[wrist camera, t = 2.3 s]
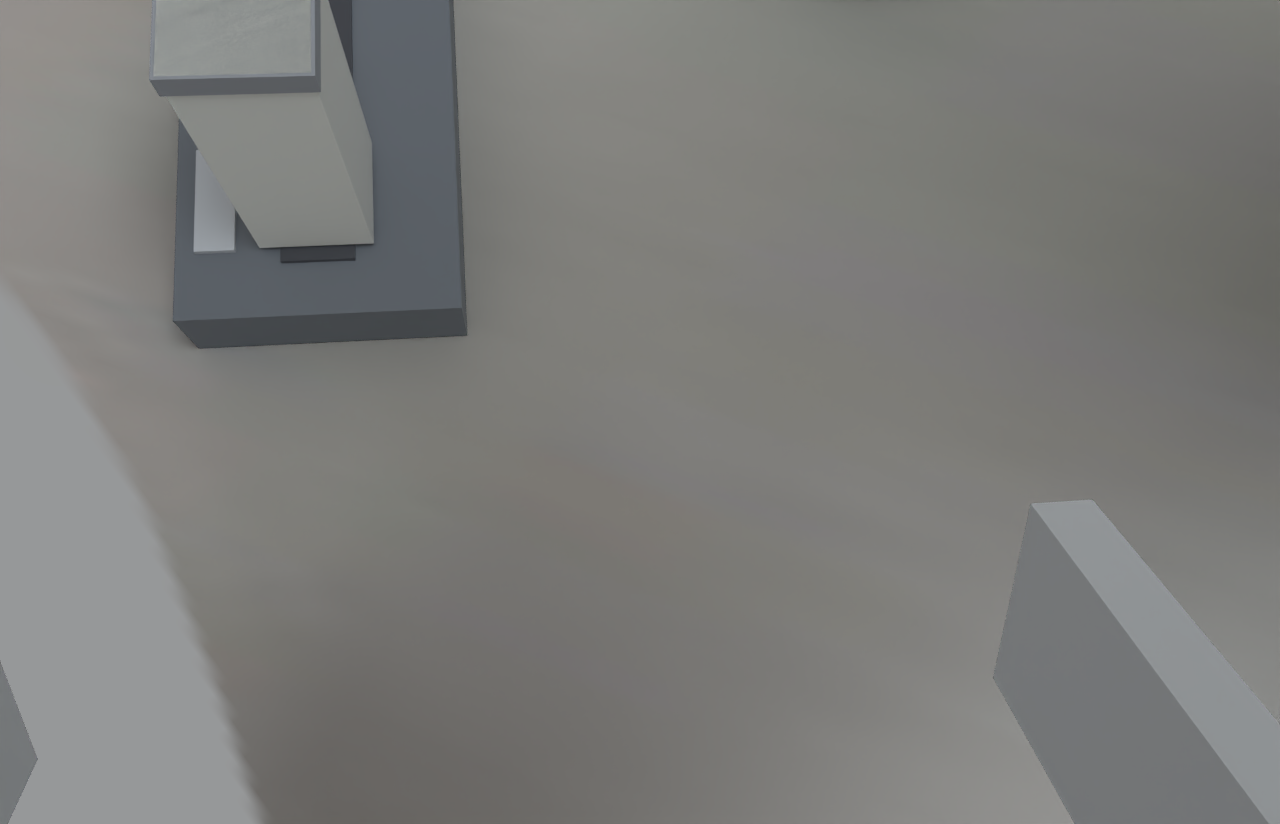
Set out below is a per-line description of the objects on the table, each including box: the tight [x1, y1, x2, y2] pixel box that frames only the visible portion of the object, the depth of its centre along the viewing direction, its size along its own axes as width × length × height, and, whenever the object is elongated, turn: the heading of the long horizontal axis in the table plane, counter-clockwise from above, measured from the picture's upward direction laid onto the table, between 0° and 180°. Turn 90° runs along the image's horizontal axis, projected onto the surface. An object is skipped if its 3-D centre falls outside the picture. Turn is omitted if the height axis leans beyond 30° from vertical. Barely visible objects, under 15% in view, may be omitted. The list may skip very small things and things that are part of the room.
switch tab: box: [149, 0, 374, 248], centre depth 35 cm, size 4×4×11 cm
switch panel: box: [173, 0, 467, 348], centre depth 43 cm, size 18×10×3 cm, turn 5°
